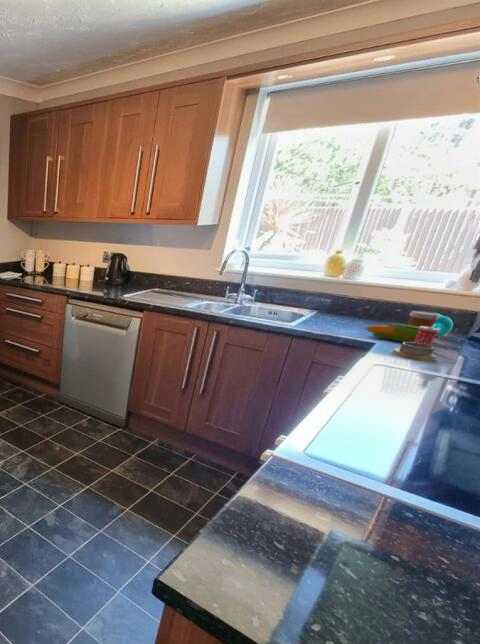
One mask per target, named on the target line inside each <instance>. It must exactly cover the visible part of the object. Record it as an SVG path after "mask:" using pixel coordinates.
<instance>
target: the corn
mask: <svg viewBox="0 0 480 644" xmlns="http://www.w3.org/2000/svg"><path fill="white" fill-rule="evenodd" d="M407 326H409V327H407ZM410 327H415V328H410ZM365 328H366V330H367V331H368V332H370V333H372V334H371V335H372V336H373V337H376V338H379V339H382V340H387V341H394V342H398V343H403V342H415V340H416V337H417V334H418V331H419V327H416V326H412V325H408V324H405V323H395V322H394V323H393V322H388V325H386V324H385V325H384V324H373V325H369V326H366V327H365ZM417 328H418V329H417Z"/></svg>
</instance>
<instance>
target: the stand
mask: <svg viewBox="0 0 480 644" xmlns="http://www.w3.org/2000/svg"><path fill="white" fill-rule="evenodd" d="M434 349H435V347H434V346H433V345H430V346H429V345H425V344H420V343H414V342H401V345H400V347H395V348H393V350H392V354H394V355H396V356H398V357H402V358H406V359H410V360H416V361H422V362H423V361H424V362H434V361H436V358H437V355H436V354H434V353H433V352H434Z"/></svg>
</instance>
